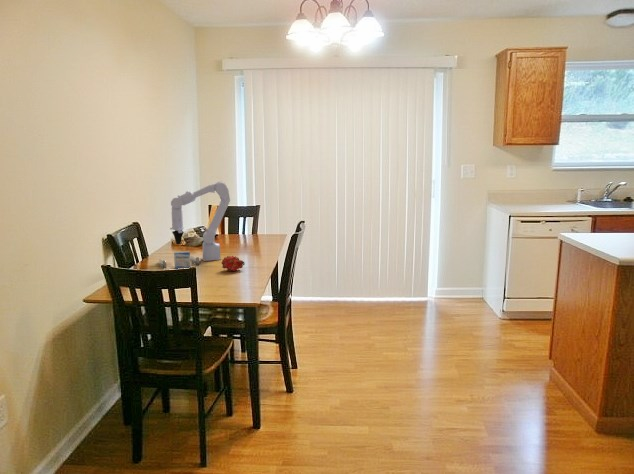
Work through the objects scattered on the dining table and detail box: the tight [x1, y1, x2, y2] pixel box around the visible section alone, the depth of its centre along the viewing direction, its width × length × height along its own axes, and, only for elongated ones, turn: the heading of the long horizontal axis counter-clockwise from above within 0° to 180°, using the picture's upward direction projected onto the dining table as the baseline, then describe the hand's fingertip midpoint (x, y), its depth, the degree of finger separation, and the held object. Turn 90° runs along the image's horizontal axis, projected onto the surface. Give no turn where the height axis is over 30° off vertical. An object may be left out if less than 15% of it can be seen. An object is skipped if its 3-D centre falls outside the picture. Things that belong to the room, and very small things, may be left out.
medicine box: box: [173, 250, 191, 270], centre depth 261 cm, size 8×4×9 cm, turn 107°
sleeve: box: [157, 255, 200, 269], centre depth 270 cm, size 19×15×4 cm
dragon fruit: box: [221, 255, 246, 272], centre depth 256 cm, size 8×8×12 cm
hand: (178, 244), depth 277 cm, fingers closed
